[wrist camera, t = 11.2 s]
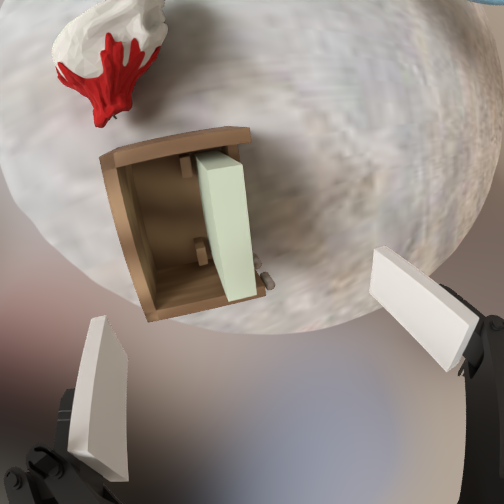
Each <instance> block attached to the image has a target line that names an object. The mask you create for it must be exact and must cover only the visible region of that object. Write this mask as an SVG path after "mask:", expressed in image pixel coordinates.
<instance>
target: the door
mask: <svg viewBox="0 0 504 504" xmlns="http://www.w3.org/2000/svg"><path fill="white" fill-rule="evenodd" d="M194 157H195V164H196V171H197V177H198V184H199V190H200V196H201V202H202V208H203V214H204V220H205V226H206V232H207V237H208V243H209V248H210V251H211V254H212V257H213V260H214V263H215V266H216V268H217V271H218V274H219V277H220V280H221V283H222V285H223V288H224V291H225V294H226V296H227V299H228V302H230V301H234V300H238V299H242V298H246V297H250V296H254V295H257V291H256V282H255V273H254V264H253V255H252V246H251V237H250V227H249V218H248V209H247V200H246V191H245V182H244V173H243V165H242V164H241V163H239V162H237V161H236V160H234V159H232V158H230V157H229V156H227V155H225V154H223V153H222V152H220V151H218V150H215V151H209V152H203V153H197V154H194Z"/></svg>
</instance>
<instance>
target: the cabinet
mask: <svg viewBox="0 0 504 504" xmlns="http://www.w3.org/2000/svg"><path fill="white" fill-rule="evenodd" d="M249 142H251V136H250V128H247V127H233V126H225V127H218V128H211V129H205V130H198V131H192V132H187V133H181V134H176V135H171V136H166V137H161V138H156V139H151V140H147V141H142V142H138V143H134V144H130V145H126V146H122V147H118V148H116V149H114V150H112V151H110V152H108V153H106V154H104V155H102V156H100V157H99V159H100V164H101V169H102V174H103V178H104V183H105V187H106V192H107V196H108V200H109V204H110V208H111V212H112V215H113V219H114V223H115V226H116V230H117V234H118V237H119V240H120V244H121V247H122V250H123V254H124V257H125V260H126V263H127V266H128V269H129V272H130V275H131V278H132V281H133V284H134V287H135V290H136V292H137V295H138V298H139V301H140V303H141V306H142V309H143V311H144V313H145V316H146V319H147V321H148V322H153V321H158V320H163V319H168V318H173V317H177V316H182V315H187V314H191V313H196V312H200V311H205V310H209V309H213V308H218V307H222V306H226V305H230V304H235V303H239V302H243V301H247V300H251V299H255V298H259V297H263V296H266V291H265V287H266V289H267V290H272V289H273V288H274V287H275V283H274V281H273V280H272V278H271V277H270V275H269V274H268V273H267V272H263V273H261V274H260V277H259V275H258V273H257V272H256V270H255V269H259V268H260V267H261V266H262V263H261V261H260V260H259V258H258V257H257V255H256V254H254V253H253V254H252V255H253V264H254V273H255V282H256V291H257V295H254V296H250V297H246V298H242V299H238V300H234V301H230V302H228V299H227V296H226V294H225V291H224V288H223V285H222V283H221V280H220V277H219V274H218V271H217V268H216V266H215V263H214V260H213V257H212V254H211V251H210V248H209V243H208V237H207V232H206V226H205V220H204V214H203V208H202V202H201V196H200V190H199V184H198V177H197V171H196V164H195V157H194V154H197V153H203V152H209V151H215V150H218V151H220V152H222V153H223V154H225V155H227V156H229V157H230V158H232V159H234V160H236V161H237V162H239V163H240V160H239V151H238V144H241V143H249Z"/></svg>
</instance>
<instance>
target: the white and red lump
mask: <svg viewBox="0 0 504 504" xmlns="http://www.w3.org/2000/svg"><path fill="white" fill-rule="evenodd" d="M164 5H165V0H105V1H102V2H100V3H98V4H96V5H95V6H93V7H92V8H90V9H89V10H87V11H86V12H84V13H83V14H81V15H80V16H78V17H77V18H75V19H74V20H72V21H71V22H70V23H69V24H68V25H67V26H66V27H65V28H64V29H63V30H62V32H61V33H60V34H59V36H58V37H57V39H56V40H55V42H54V44H53V49H52V58H53V60H54V63H55V66H56V70H57V73H58V79H59V80H60V81H61V82H62V84H64V85H65V86H67V87H70V88H72V89H74V90H76V91H78V92H79V93H80V94H81V95H83V96H85V97H87V98H88V99H89V100H90V102H91V103H92V105H93V107H94V109H93V115H94V124H95V127H99V128H103V127H104V126H105V125H106V123H107V121H108V120H110V119H111V117H112V116H113V117H114V118H115V119H117V118H116V116H115V115H116V114H118V113H120V112H122V111H129V110H130V109H131V108H132V97H131V94H132V91H133V88H134V86H135V83H136V81H137V79H138V78H139V77H140V76H141V75H142V74H143V73H145V72H146V71H147V70H148V68H149V67H150V65H151V63H152V62H154V61H155V60H156V58H157V56H158V53H159V50H160V47H161V45H162V43H163V41H164V39H165V37H166V35H167V31H168V26H167V25H166V24H165V23H163V22H164V21H165V15H164V14H163V12H162V8H163V7H164Z"/></svg>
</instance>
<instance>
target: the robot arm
mask: <svg viewBox="0 0 504 504" xmlns="http://www.w3.org/2000/svg"><path fill="white" fill-rule="evenodd" d="M469 1H472V2H475V3H480V4H487V5H504V0H469ZM369 293H370V294H371V295H372V296H373V297H374V298H375V299H376V300H377V301H378V302H379V303H380V304H381V305H382V306H383V307H384V308H385V309H386V310H387V311H388V312H389V313H390V314H391V315H392V316H393V317H394V318H395V319H396V320H397V321H398V322H399V323H400V324H401V325H402V326H403V327H404V328H405V329H406V330H407V331H408V332H409V333H410V334H411V335H412V336H413V337H414V338H415V339H416V340H417V341H418V342H419V343H420V344H421V345H422V346H423V347H424V348H425V350H426V351H427V352H428V353H429V354H430V355H431V356H432V357H433V358H434V359H435V360H436V361H437V362H438V363H439V364H440V366H441V367H442V368H443V369H444V370H445V371H446V372H448V371H449V370H450V369H452V368H453V367H455V366H456V365H457V364H458V362H459V361H460V358H461V357H462V355H463V356H464V357H465V358H466V359H465V361H464V363H463V364H462V366H461V368H460V370H459V372H458V376H460V375H461V373H462V371H463V369H464V374H463V376H465V390H466V445H465V459H464V470H463V478H462V485H461V492H460V497H459V501H458V503H457V504H504V319H502V318H500V317H499V316H495V315H489V316H487V317H485V316H484V315H483V314H481V313H480V312H479V311H478V310H477V309H475V308H474V307H473V306H472V305H470V304H469V303H468V302H467V301H466V300H463V298H462V297H461V296H459V295H457V293H455V292H454V291H453V290H452V289H450V288H449V287H447V286H444V285H442V284H437V283H436V282H435V281H433V280H432V279H431V278H429V277H428V276H427V275H425V274H424V273H423V272H421V271H420V270H419V269H417V268H416V267H415V266H413V265H412V264H411V263H409V262H408V261H406V260H405V259H404V258H402V257H401V256H399V255H398V254H397V253H395V252H394V251H392V250H391V249H390V248H388V247H387V246H382V247H379V248H375V249H374V255H373V265H372V274H371V282H370V289H369ZM127 370H128V356H127V355H126V353H125V351H124V349H123V347H122V345H121V344H120V342H119V340H118V338H117V336H116V334H115V332H114V330H113V328H112V326H111V325H110V322H109V321H108V318H107V316H106V315H105V316H100V317H96V318H92V319H91V322H90V326H89V330H88V333H87V338H86V341H85V346H84V350H83V354H82V359H81V364H80V368H79V373H78V378H77V384H76V388H74V389H67V390H66V391H65V393H64V395H63V397H62V398H61V401H60V407H59V413H58V422H57V425H56V432H55V439H54V448H53V449H52V448H51V447H50V446H48V445H46V444H44V443H38V444H35V445H33V446H32V447H31V448H30V449H29V451H28V453H27V455H26V466H27V469H28V470H29V471H30V472H25V471H24V470H22V469H21V468H18V467H11V468H10V469H8V470H7V472H6V474H5V477H4V485H5V489H6V493H7V497H8V500H9V504H122V503H121V502H120V501H119V500H118V498H116V497H115V496H114V494H113V493H112V492H111V491H110V490H109V489H108V488H107V487H106V486H105V485H104V484H103V477H105V478H106V479H108V480H109V481H129V478H128V463H127V441H126V395H127V394H126V393H127Z"/></svg>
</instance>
